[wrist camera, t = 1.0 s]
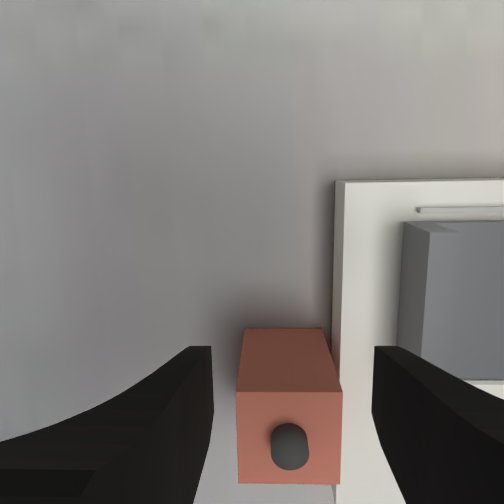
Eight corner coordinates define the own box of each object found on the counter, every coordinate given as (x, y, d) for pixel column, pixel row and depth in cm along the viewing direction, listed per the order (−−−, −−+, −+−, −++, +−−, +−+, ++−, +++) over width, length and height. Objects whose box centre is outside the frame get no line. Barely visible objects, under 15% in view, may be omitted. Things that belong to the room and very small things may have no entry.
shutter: (394, 371, 18) (417, 408, 15) (403, 221, 17) (430, 232, 14) (555, 371, 18) (606, 409, 15) (578, 219, 16) (639, 229, 14)
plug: (246, 397, 22) (236, 499, 15) (244, 328, 21) (233, 404, 14) (320, 398, 22) (344, 501, 15) (322, 328, 21) (347, 404, 14)
